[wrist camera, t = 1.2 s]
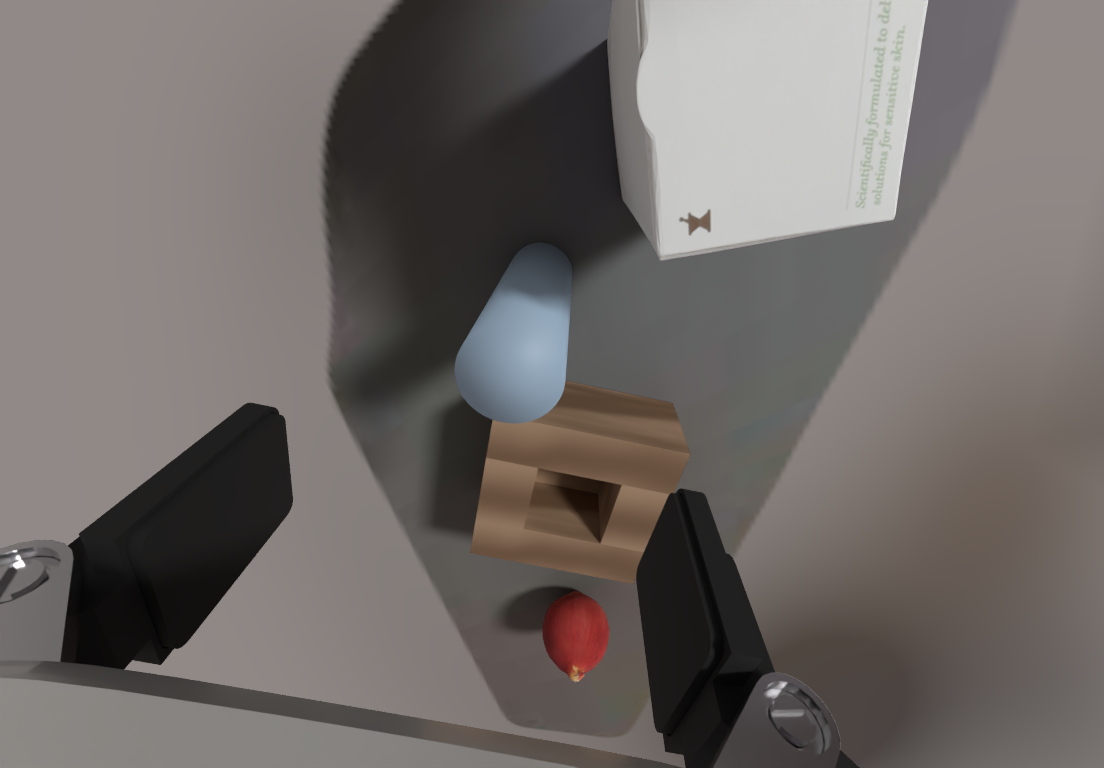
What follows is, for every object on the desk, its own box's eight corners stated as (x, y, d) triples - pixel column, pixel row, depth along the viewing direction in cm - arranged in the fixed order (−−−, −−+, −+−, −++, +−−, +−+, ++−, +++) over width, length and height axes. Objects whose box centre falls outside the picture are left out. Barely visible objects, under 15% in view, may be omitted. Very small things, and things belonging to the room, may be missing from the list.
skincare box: (731, 186, 26) (905, 238, 12) (614, 206, 26) (649, 276, 13) (734, -2, 22) (997, -247, 8) (597, 28, 22) (621, -146, 9)
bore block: (508, 368, 32) (493, 413, 26) (672, 403, 32) (690, 454, 27) (485, 494, 37) (470, 552, 32) (626, 522, 38) (633, 583, 33)
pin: (514, 235, 27) (460, 312, 15) (578, 250, 28) (576, 337, 15) (504, 298, 29) (449, 411, 17) (564, 311, 30) (553, 432, 17)
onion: (599, 617, 44) (602, 707, 37) (541, 607, 44) (533, 696, 37) (613, 578, 41) (619, 667, 34) (551, 567, 41) (545, 655, 34)
